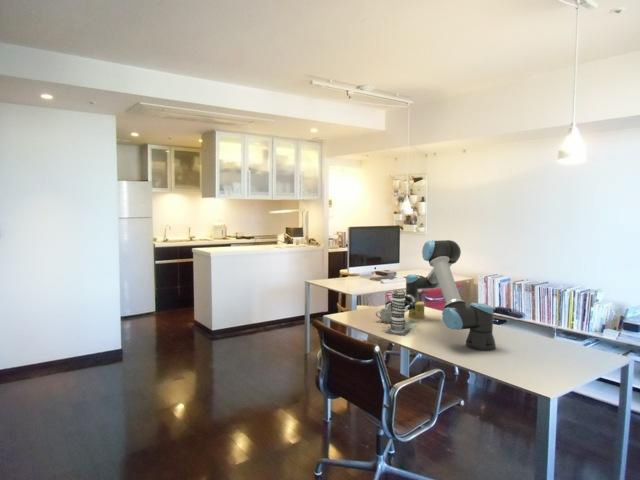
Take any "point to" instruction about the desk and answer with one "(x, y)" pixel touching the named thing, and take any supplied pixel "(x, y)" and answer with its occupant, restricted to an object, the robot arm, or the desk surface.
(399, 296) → the decorative candle
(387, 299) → the gum box
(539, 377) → the desk surface
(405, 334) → the charcoal mat
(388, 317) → the teacup
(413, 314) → the cheese
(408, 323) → the sage mat
